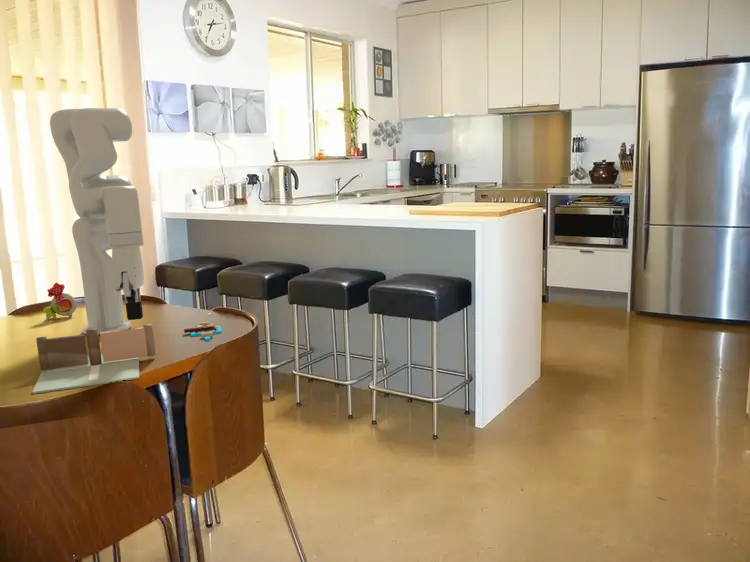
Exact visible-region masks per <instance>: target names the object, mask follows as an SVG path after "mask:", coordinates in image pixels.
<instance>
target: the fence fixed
mask: <svg viewBox="0 0 750 562" xmlns="http://www.w3.org/2000/svg"><path fill="white" fill-rule="evenodd" d="M35 340H36V346H37V355H38V360H39V361H38V362H39V368H40V369H39V370H41V371H42V370H50V369H57V368H65V367H72V366H80V365H87V364H88V356H87V355H89V358H90V365H92V366H94V365H101V364H102V360H101V353H102V351H101V346H100V345H101V343H100V335H98V329H97V328H92V329H87V330H86V334H84V333H83V334H76V335H69V336H61V337H51V338H50V337H49V338H47V336H39V337H36V338H35Z"/></svg>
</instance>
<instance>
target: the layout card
mask: <svg viewBox="0 0 750 562" xmlns="http://www.w3.org/2000/svg"><path fill="white" fill-rule="evenodd" d="M87 356H88V364H87V365H80V366H72V367H65V368H57V369H50V370H41V373H40V375H39V377H38V379H37V381H36V383H35V385H34V387H33V390H32V391H31V392H32V395H35V394H42V393H43V394H44V393H49V392H55V391H57V392H58V391H63V390H70V389H71V390H72V389H77V388H83V387H89V386H96V385H97V386H98V385H104V384H110V383H109V382H112V383H116V382H115V381H119V382H124V381H123V380H126V381H132V380H139V379H140V357H139V358H132V359H124V360H117V361H109V362H103V354H102V352H101V360H102V364H101V365H94V366H92V365H90V358H89V354H87Z"/></svg>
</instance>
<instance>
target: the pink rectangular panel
mask: <svg viewBox="0 0 750 562" xmlns="http://www.w3.org/2000/svg"><path fill="white" fill-rule="evenodd" d="M153 325H154V324H152V323H145V324H143V326H142V327H135V328H129V329H124V330H116V331H108V332H100V335H99V339H100V345H101V346H100V347H101V353H102V354H103V362H109V361H117V360H124V359H132V358H139V359H140V358H146V357H154V356H155V355H157V352H156V344H155V343H156V342H155V335H154V334H155V333H154V326H153Z"/></svg>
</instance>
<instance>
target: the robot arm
mask: <svg viewBox="0 0 750 562" xmlns="http://www.w3.org/2000/svg"><path fill="white" fill-rule="evenodd" d="M49 127H50V133H51V136H52V140H53V142H54V143H55V146H56V148H57V150H58V152H59V153H60V156H61V157H62V159H63V162H64V164H65V168H66V173H67V179H68V189H69V194H70V198H71V202H72V205H73V209H74V211H75V214H76V215H77V216H78V217H79V218H77V219H76V220H74V222H73V224H72V226H71V230H72V231H71V233H72V236H73V237H72V238H73V240H74V244H75V245H74V246H75V247H76V251H77V254H78V255H77V256H78V259H79V261H78V262H79V265H80V273H81V279H82V280H81V281H82V282H81V283H82V287H83V289H82V290H83V296H84V305H85V311H86V319H87V325H86V326H84V327H82V330H81V331H82V333H83V334H85V335H86V330H87V329H92V328H97V329H98V336H100V332H108V331H116V330H124V329H131V328H132V322H131V321H133V320H134V321H135V320H141V319H142V318H144V314H143V312H144V311H143V305H142V299H141V287H142V286H144V284H145V276H144V275H145V272H144V267H143V266H144V265H143V259H142V253H141V248H140V247H142V246H144V235H143V226H142V220H141V219H142V218H141V211H140V202H139V200H140V199H139V194H138V190H137V188H136V187H134V186H133V183H132V182H131V181H130V179H129V177H126V176H125V175H120V174H119V175H117V174H116V175H115V174H114V175H104V174H102V173H104V172H106V171H108V170H110V169H112V168H113V166H115V164H116V162H117V161H118V160H117V159H118V153H117V151H116V148H115V145H114V142H118V143H119V142H127V141H128V142H129V140H130V139H131V137H132V135H133V125H132V121H131V118H130V116H129V114H128V112H126V111H125V110H124V109H122V108H119V107H118V108H115V107H111V108H110V107H109V108H108V107H107V108H106V107H105V108H104V107H87V108H68V109H67V108H66V109H60V110H57V111H55V112H53V113H52V114H51V115H50V118H49ZM107 251H111V255H110V254H109V253H107ZM122 291H123V294H122ZM123 296H124V303H125V311H126V318H127V320H126V319H125V312H124V303H123Z"/></svg>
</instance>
